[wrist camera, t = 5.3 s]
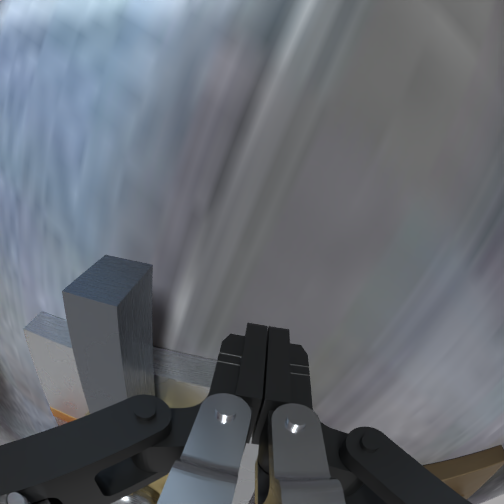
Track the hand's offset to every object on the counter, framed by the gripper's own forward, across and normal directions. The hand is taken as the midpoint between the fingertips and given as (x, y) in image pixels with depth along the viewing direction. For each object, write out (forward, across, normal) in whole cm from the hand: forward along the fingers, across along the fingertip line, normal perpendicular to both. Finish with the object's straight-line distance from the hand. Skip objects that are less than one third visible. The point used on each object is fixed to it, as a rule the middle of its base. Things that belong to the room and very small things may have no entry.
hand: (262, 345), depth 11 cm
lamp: (+3, -24, +20) cm, 32 cm away
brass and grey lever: (+1, +5, +7) cm, 9 cm away
